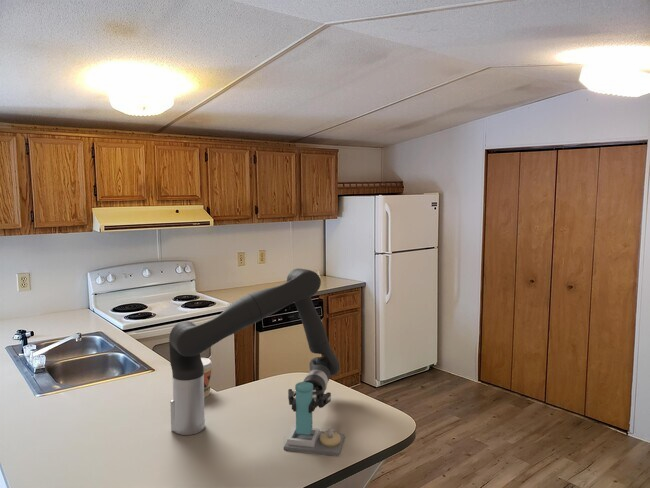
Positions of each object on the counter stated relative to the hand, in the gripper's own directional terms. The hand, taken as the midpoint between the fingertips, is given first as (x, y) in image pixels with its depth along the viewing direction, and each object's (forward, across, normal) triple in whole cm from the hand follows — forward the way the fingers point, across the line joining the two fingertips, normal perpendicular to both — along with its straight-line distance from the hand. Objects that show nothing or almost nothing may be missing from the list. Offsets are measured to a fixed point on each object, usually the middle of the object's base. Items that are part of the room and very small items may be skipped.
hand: (302, 409), depth 143 cm
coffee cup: (-27, -45, +12) cm, 53 cm away
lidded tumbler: (-3, 0, +8) cm, 8 cm away
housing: (-3, +3, +12) cm, 12 cm away
